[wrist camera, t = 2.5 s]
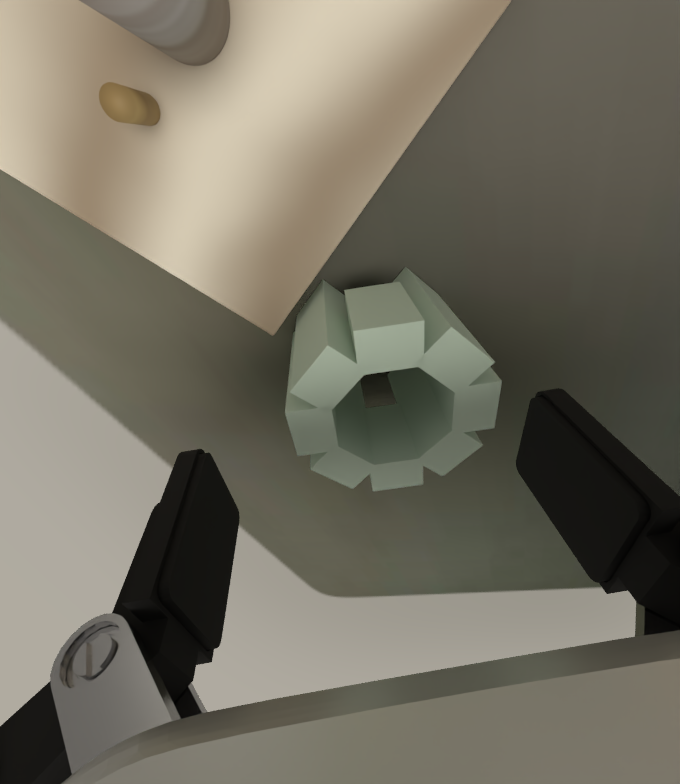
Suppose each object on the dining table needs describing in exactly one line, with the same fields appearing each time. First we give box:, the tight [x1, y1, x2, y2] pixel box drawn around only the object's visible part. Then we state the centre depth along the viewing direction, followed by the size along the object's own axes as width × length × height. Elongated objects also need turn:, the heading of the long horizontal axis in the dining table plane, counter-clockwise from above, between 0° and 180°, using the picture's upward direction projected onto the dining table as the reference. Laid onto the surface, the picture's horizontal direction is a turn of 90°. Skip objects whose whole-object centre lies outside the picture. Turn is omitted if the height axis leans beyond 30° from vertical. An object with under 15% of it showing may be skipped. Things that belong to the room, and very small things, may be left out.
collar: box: [285, 267, 502, 491], centre depth 14 cm, size 7×7×6 cm
